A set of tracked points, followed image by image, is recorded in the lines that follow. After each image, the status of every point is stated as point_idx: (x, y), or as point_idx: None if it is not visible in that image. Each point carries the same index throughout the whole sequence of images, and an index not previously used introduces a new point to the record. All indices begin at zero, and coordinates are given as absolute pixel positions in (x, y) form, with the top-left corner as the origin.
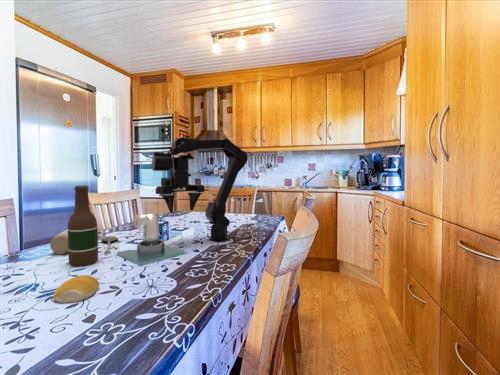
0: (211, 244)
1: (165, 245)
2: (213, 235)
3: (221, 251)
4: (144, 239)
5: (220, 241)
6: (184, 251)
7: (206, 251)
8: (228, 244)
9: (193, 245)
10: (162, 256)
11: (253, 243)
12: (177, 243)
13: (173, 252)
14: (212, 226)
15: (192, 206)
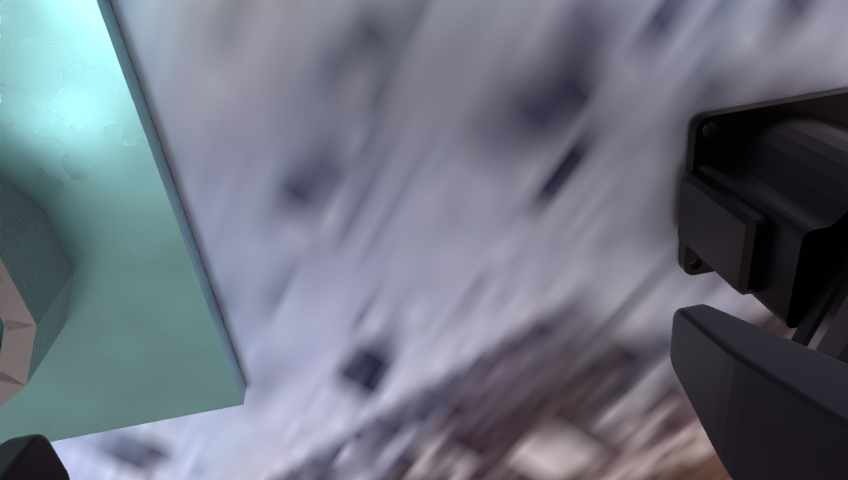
0: (583, 280)
1: (123, 134)
2: (703, 240)
3: (503, 470)
4: None
5: (697, 268)
6: (240, 401)
7: (419, 421)
8: None
9: (436, 210)
10: None
11: None
12: (333, 9)
13: (134, 401)
14: (792, 255)
15: (730, 467)
